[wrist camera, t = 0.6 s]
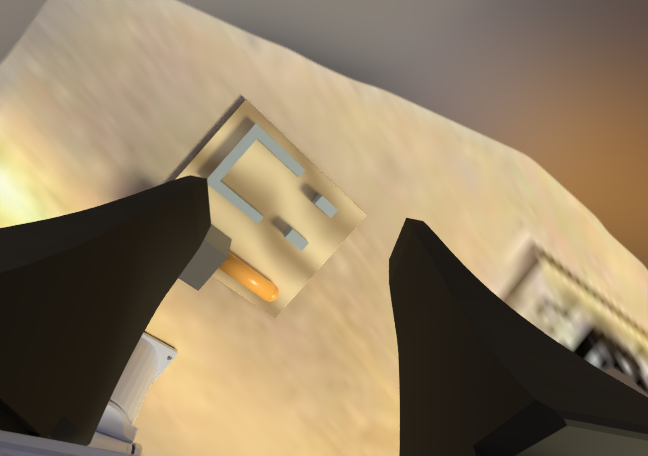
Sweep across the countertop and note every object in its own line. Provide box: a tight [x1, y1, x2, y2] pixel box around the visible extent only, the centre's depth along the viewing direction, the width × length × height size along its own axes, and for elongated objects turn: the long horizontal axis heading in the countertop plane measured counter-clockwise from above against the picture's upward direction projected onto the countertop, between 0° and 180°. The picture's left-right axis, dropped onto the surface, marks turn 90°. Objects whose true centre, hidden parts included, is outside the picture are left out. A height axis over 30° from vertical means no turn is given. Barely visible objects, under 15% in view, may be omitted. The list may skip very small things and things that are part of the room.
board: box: [175, 99, 366, 318], centre depth 32 cm, size 16×18×1 cm
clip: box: [283, 194, 338, 251], centre depth 32 cm, size 6×2×2 cm, turn 137°
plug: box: [178, 224, 279, 302], centre depth 29 cm, size 4×12×6 cm, turn 47°
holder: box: [207, 124, 305, 224], centre depth 30 cm, size 8×7×1 cm
